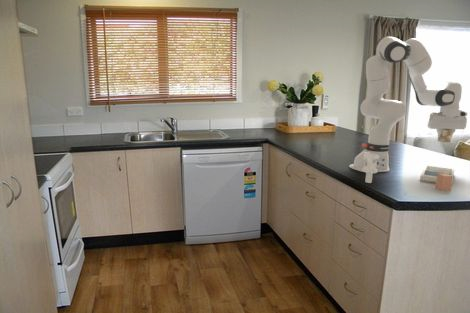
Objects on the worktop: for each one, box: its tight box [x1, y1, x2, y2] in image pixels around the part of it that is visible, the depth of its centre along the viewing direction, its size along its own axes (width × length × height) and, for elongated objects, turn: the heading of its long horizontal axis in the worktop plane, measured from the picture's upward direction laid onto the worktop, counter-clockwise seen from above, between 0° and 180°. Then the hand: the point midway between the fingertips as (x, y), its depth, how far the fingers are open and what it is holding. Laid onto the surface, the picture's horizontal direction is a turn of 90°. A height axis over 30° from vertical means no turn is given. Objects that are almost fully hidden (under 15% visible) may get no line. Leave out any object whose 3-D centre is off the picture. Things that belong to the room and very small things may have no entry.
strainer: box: [362, 152, 379, 184], centre depth 175 cm, size 7×7×15 cm
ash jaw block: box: [437, 129, 453, 143], centre depth 198 cm, size 4×4×7 cm
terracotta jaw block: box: [434, 173, 454, 191], centre depth 167 cm, size 4×4×7 cm
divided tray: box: [419, 164, 455, 187], centre depth 186 cm, size 25×14×3 cm, turn 147°
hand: (444, 136), depth 198 cm, fingers closed on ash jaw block, 4 cm apart
